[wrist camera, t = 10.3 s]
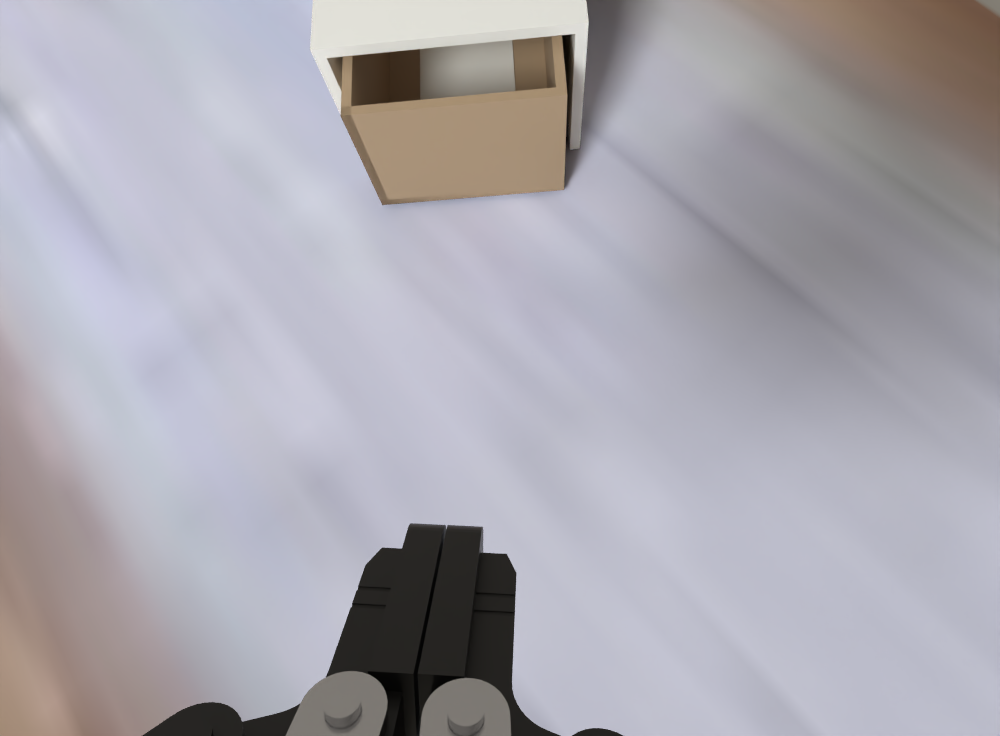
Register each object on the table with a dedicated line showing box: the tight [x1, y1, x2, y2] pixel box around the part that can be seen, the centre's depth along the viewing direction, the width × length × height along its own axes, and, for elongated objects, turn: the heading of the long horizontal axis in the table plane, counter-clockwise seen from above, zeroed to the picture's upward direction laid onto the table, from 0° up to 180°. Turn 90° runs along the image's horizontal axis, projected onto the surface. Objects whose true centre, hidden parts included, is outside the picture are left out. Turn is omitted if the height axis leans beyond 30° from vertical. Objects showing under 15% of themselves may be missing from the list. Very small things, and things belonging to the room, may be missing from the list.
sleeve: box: [310, 0, 589, 150], centre depth 36 cm, size 12×14×10 cm
